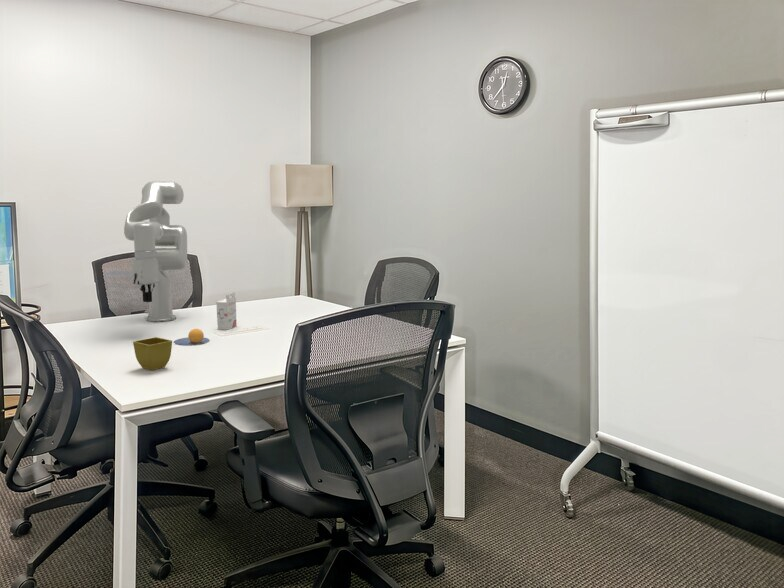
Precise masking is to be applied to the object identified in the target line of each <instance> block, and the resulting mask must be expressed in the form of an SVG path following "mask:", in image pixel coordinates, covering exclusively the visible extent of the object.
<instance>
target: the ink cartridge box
mask: <svg viewBox="0 0 784 588" xmlns="http://www.w3.org/2000/svg"><path fill="white" fill-rule="evenodd" d="M236 301H237V299H236V292H231V293H228V294H226V295H225V298H224V299H221V300H218V301H216V302H215V303H216V319H217V320H216V321H217V330H221V331H222V330H224V331H226V330H227V331H228V330H230V329H233V328H236V327H237V302H236Z"/></svg>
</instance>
